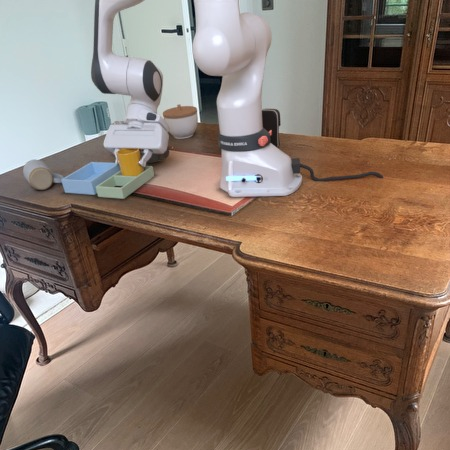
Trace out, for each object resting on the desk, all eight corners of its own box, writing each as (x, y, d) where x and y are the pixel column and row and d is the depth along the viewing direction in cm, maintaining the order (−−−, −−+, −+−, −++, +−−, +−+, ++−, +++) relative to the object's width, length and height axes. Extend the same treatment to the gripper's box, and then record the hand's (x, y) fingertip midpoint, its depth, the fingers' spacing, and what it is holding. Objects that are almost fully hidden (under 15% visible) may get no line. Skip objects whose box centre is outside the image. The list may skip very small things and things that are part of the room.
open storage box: (123, 175, 136) (119, 162, 134) (94, 194, 126) (90, 181, 123) (94, 174, 140) (91, 161, 138) (65, 192, 130) (60, 179, 127)
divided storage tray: (154, 175, 133) (152, 166, 132) (124, 198, 121) (121, 188, 119) (130, 174, 136) (128, 165, 135) (98, 196, 124) (95, 186, 122)
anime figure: (127, 134, 157) (175, 134, 136) (133, 155, 161) (181, 158, 140) (103, 142, 153) (150, 143, 131) (110, 163, 156) (156, 167, 135)
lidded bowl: (205, 131, 167) (202, 100, 161) (190, 141, 158) (185, 109, 152) (177, 130, 172) (172, 100, 165) (160, 140, 163) (155, 109, 156)
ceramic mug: (33, 194, 131) (24, 169, 127) (28, 186, 137) (19, 162, 132) (68, 184, 135) (61, 160, 131) (61, 177, 141) (54, 154, 137)
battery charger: (282, 144, 145) (281, 107, 138) (277, 148, 142) (276, 111, 135) (263, 143, 148) (262, 107, 141) (258, 146, 145) (256, 110, 139)
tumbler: (149, 177, 133) (143, 147, 128) (138, 185, 128) (131, 154, 123) (131, 176, 135) (124, 146, 130) (119, 184, 131) (111, 154, 125)
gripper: (105, 115, 131) (94, 159, 129) (164, 115, 123) (154, 161, 122) (117, 126, 136) (107, 169, 135) (174, 127, 129) (164, 171, 128)
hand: (130, 165), depth 128 cm, fingers closed on tumbler, 6 cm apart
